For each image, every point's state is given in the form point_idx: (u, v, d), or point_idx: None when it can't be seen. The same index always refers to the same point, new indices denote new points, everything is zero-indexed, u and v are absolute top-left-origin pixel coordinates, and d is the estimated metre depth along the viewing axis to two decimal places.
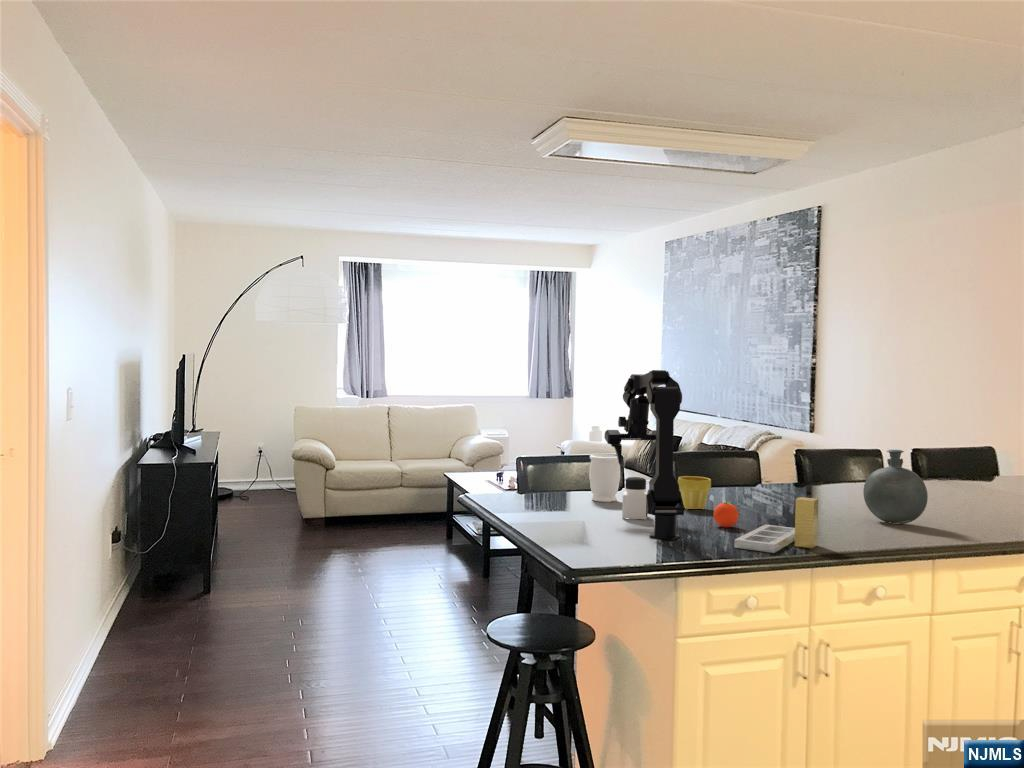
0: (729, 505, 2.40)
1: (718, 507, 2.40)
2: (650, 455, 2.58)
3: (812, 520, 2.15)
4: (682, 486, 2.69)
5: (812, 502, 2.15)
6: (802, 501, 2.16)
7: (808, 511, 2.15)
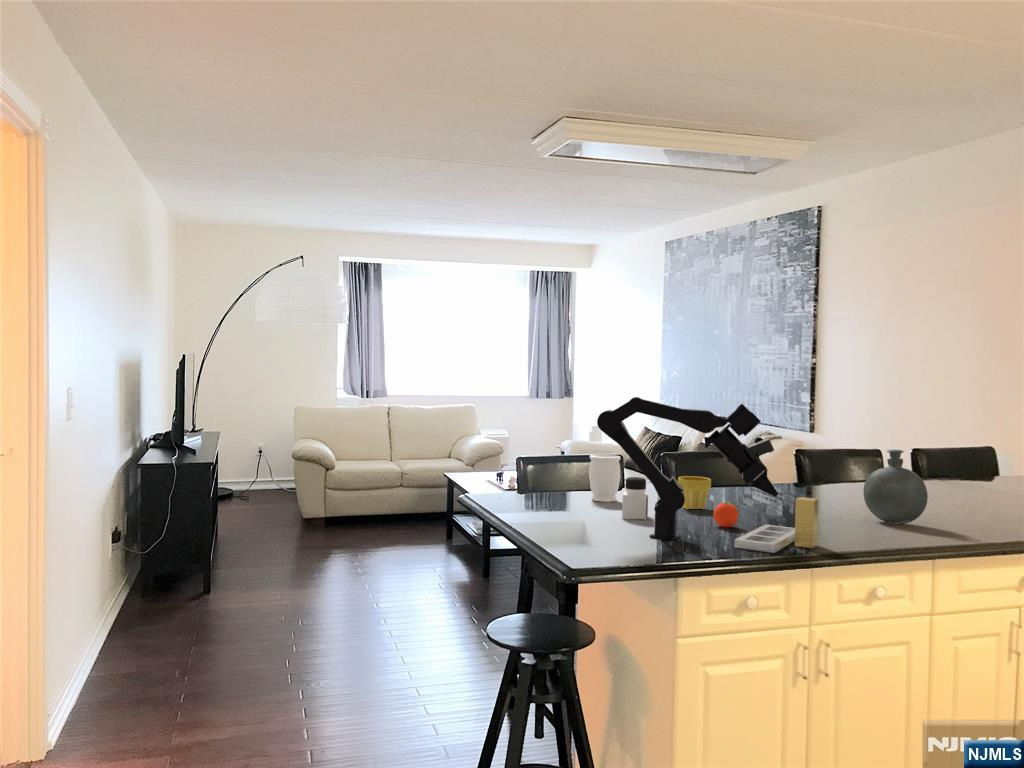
0: (729, 505, 2.40)
1: (718, 507, 2.40)
2: None
3: (812, 520, 2.15)
4: None
5: (812, 502, 2.15)
6: (802, 501, 2.16)
7: (808, 511, 2.15)
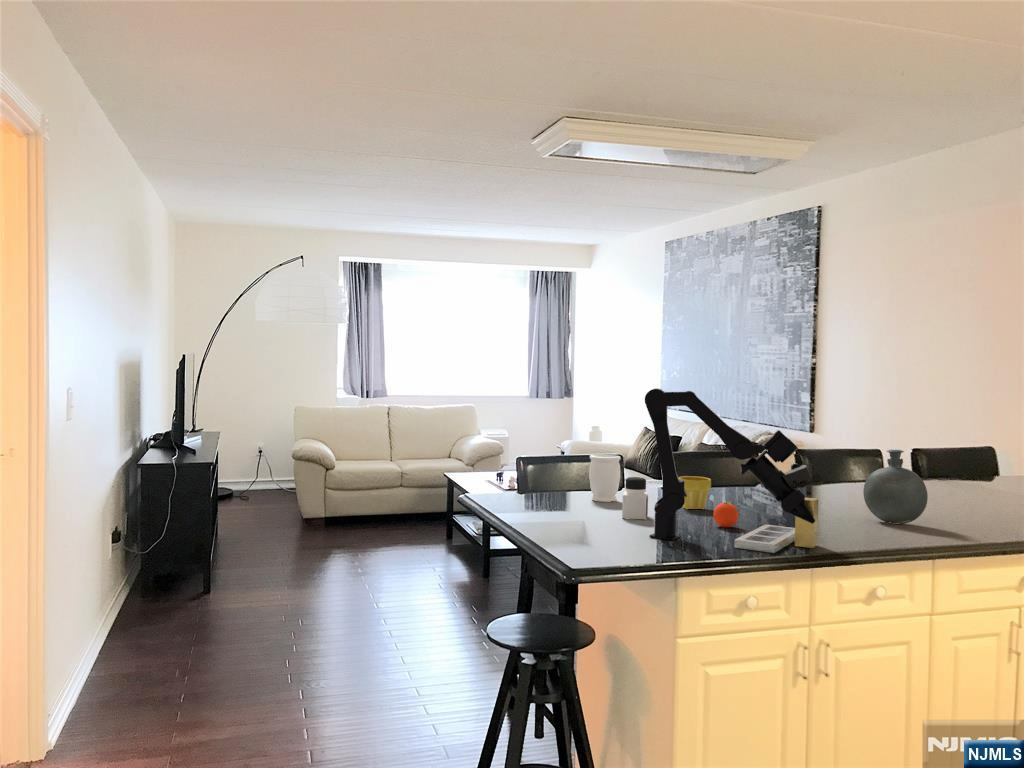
0: (729, 505, 2.40)
1: (718, 507, 2.40)
2: None
3: None
4: None
5: (812, 502, 2.15)
6: None
7: None
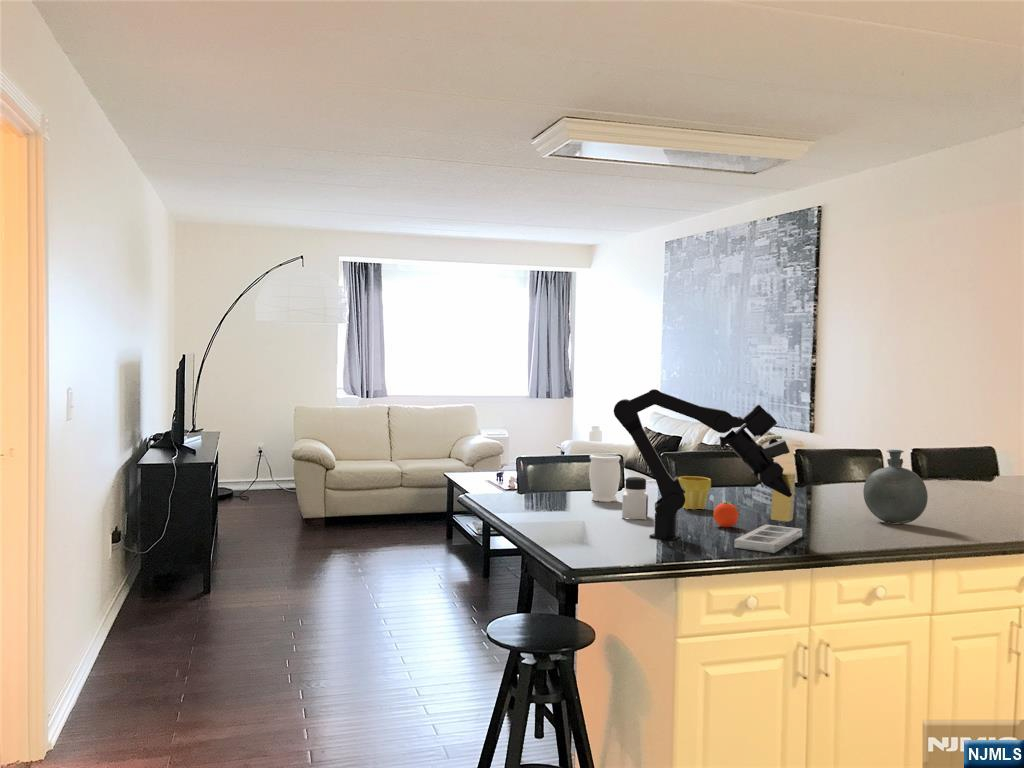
0: (729, 505, 2.40)
1: (718, 507, 2.40)
2: None
3: None
4: (682, 486, 2.69)
5: (790, 476, 2.17)
6: None
7: None
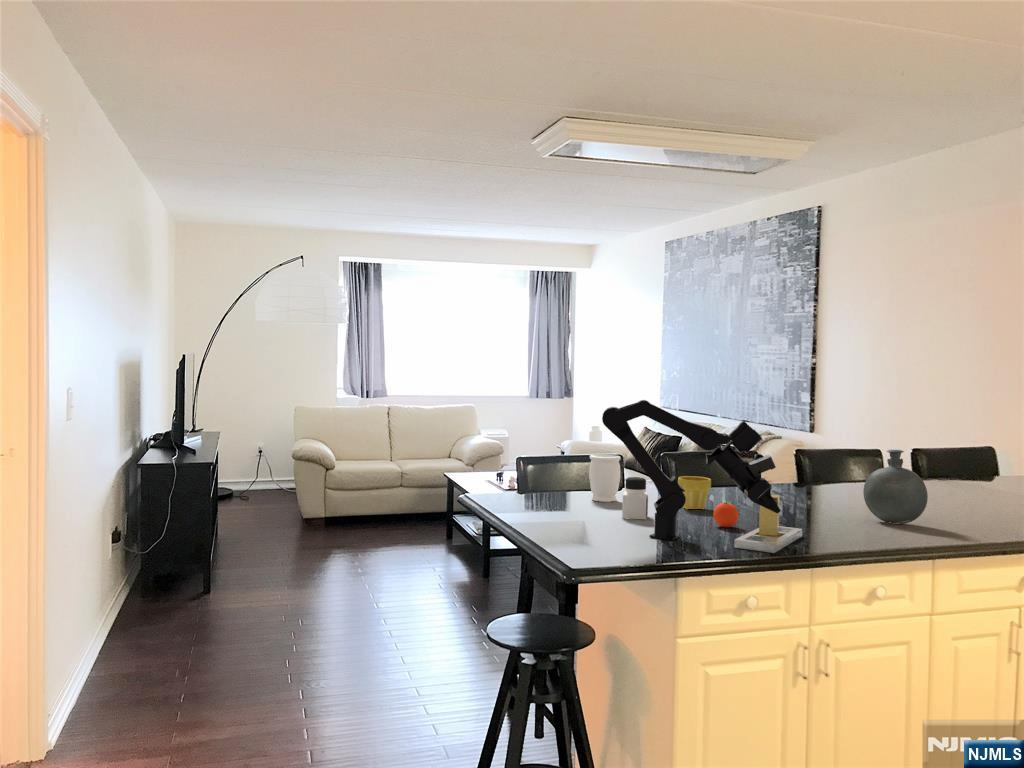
0: (729, 505, 2.40)
1: (718, 507, 2.40)
2: None
3: (776, 516, 2.19)
4: (682, 486, 2.69)
5: (776, 499, 2.19)
6: None
7: None
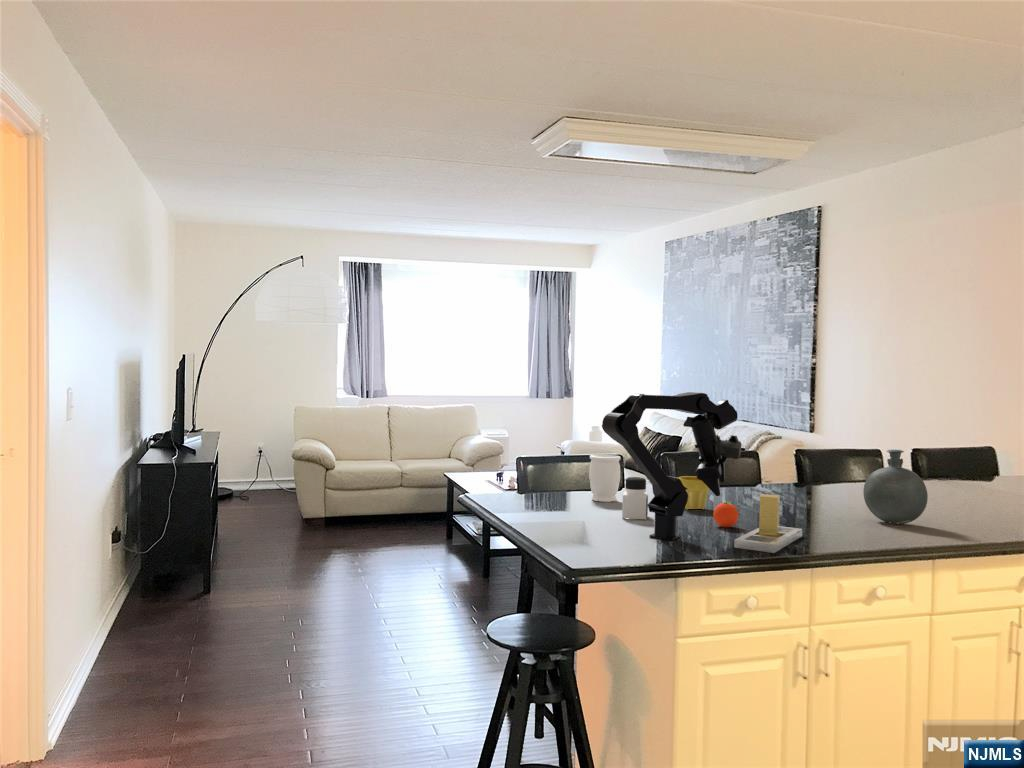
0: (729, 505, 2.40)
1: (718, 507, 2.40)
2: None
3: (776, 516, 2.19)
4: None
5: (776, 499, 2.19)
6: (766, 498, 2.20)
7: (772, 508, 2.20)
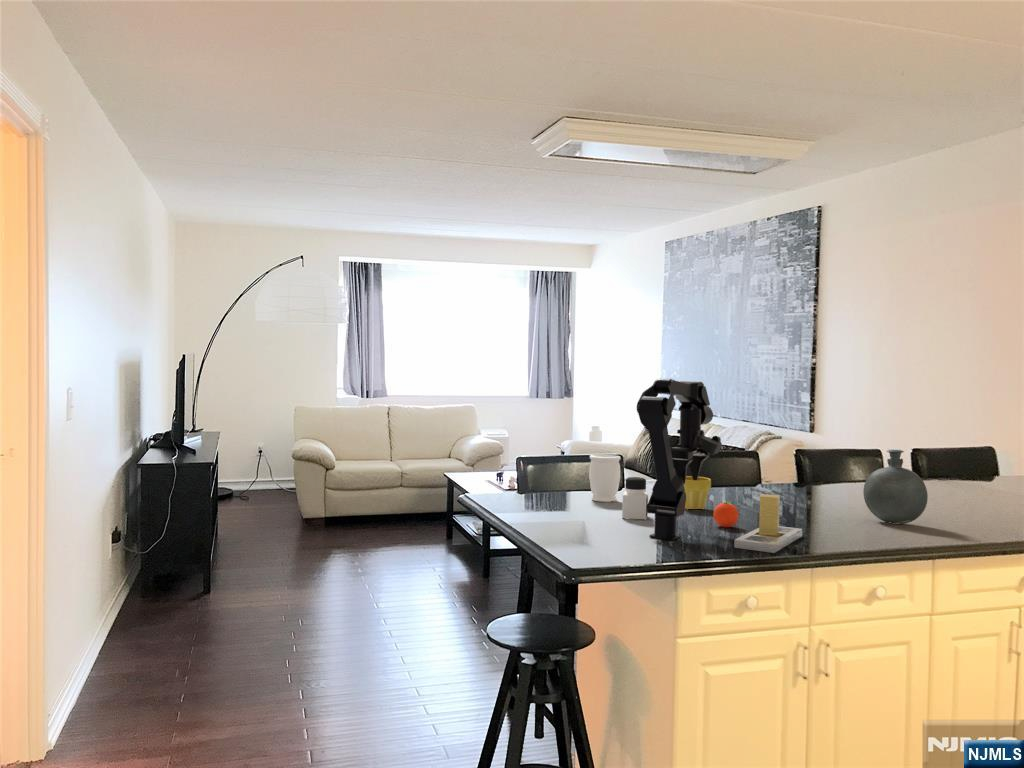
0: (729, 505, 2.40)
1: (718, 507, 2.40)
2: None
3: (776, 516, 2.19)
4: None
5: (776, 499, 2.19)
6: (766, 498, 2.20)
7: (772, 508, 2.20)
